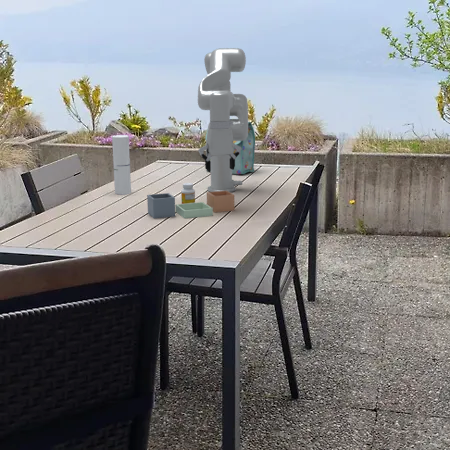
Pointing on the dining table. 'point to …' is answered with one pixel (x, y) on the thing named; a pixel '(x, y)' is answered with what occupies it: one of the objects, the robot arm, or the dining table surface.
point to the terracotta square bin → (221, 201)
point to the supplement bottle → (188, 193)
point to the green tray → (194, 210)
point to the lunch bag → (244, 153)
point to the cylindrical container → (121, 164)
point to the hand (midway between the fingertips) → (220, 169)
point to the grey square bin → (161, 205)
